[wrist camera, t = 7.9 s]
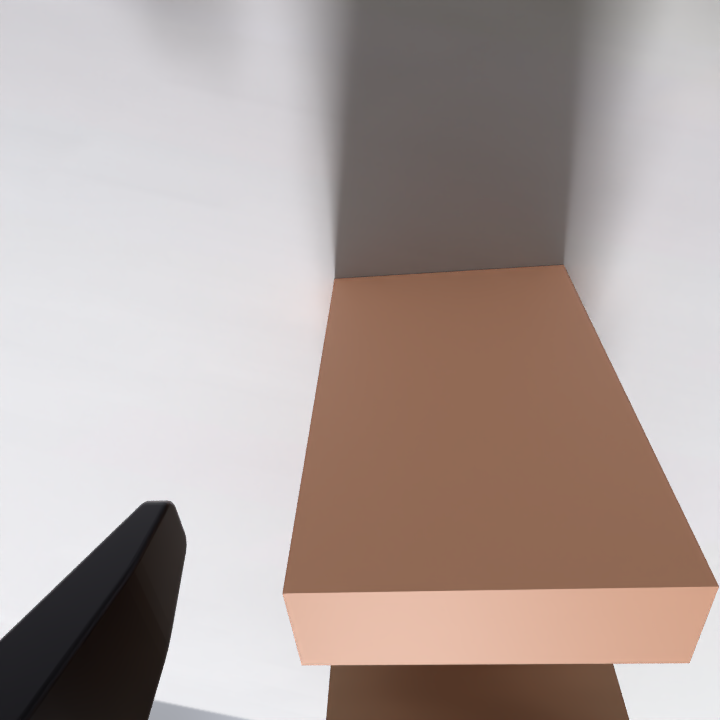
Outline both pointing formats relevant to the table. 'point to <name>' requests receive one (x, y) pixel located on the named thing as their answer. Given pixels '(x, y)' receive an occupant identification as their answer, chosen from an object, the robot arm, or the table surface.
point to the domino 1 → (483, 487)
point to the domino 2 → (475, 692)
